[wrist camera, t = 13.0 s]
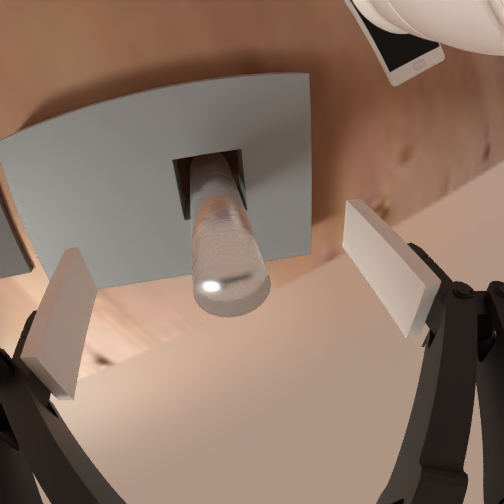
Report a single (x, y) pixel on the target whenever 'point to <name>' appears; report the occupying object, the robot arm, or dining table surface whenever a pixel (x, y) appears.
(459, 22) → the jar
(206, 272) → the peg
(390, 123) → the dining table surface
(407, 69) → the smartphone
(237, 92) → the block with square hole
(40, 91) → the dining table surface
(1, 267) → the mat
